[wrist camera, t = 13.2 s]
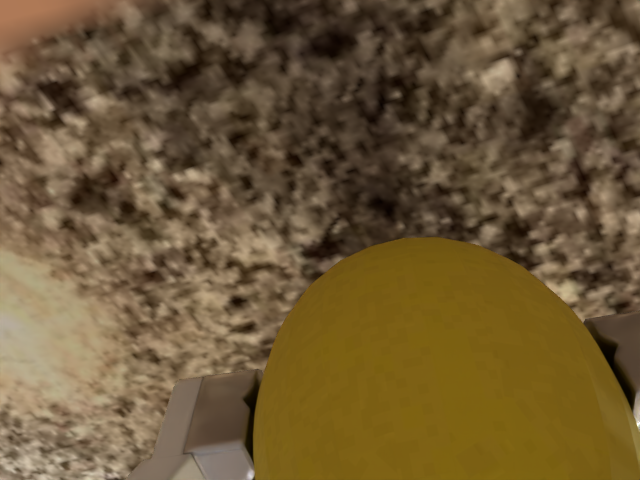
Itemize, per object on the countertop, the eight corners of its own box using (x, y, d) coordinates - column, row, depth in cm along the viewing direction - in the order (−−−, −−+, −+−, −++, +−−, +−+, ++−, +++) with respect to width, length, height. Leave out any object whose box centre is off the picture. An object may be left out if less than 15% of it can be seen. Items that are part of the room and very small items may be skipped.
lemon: (574, 293, 12) (892, 807, 5) (371, 397, 14) (414, 872, 7) (444, 103, 10) (718, 592, 3) (221, 259, 12) (78, 772, 5)
